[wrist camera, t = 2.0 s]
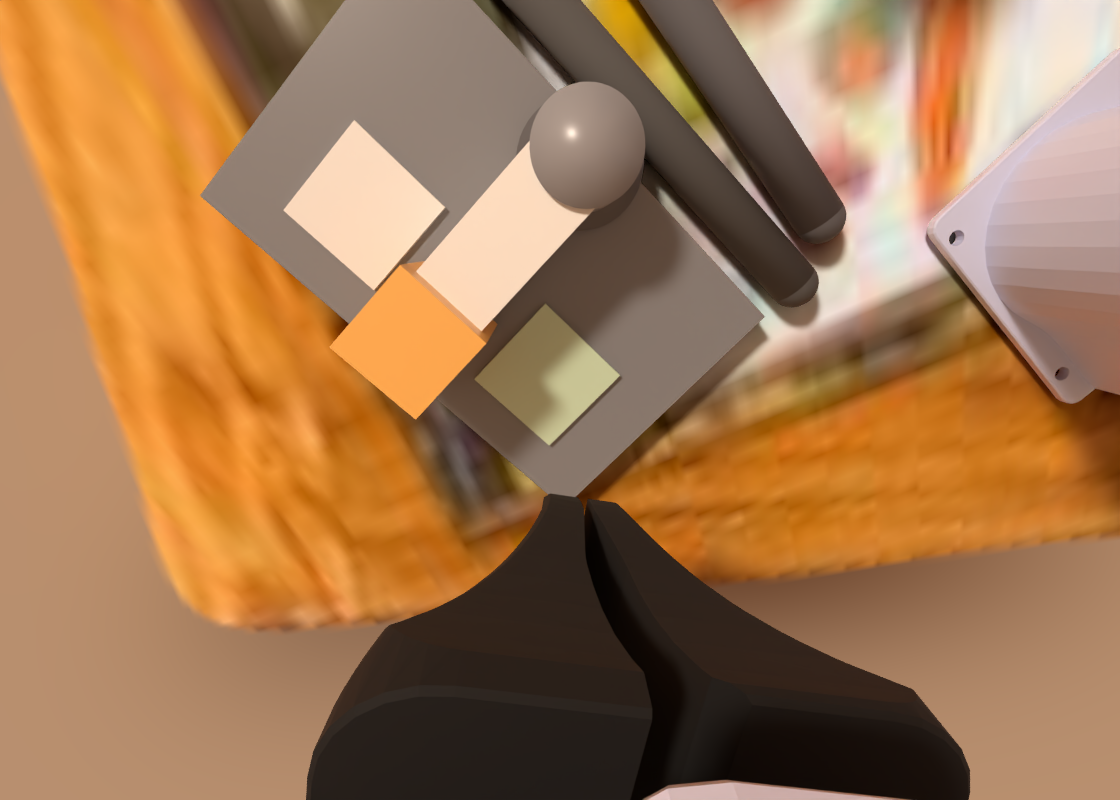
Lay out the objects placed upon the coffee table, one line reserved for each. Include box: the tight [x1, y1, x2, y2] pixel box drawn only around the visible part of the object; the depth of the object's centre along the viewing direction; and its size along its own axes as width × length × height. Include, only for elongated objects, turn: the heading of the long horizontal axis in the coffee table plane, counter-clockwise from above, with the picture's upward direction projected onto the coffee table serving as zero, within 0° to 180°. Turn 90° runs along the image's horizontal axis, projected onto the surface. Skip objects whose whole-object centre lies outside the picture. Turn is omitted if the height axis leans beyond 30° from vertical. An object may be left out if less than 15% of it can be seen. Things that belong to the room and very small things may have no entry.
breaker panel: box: [200, 0, 765, 497], centre depth 18 cm, size 16×11×2 cm
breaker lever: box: [330, 82, 645, 419], centre depth 16 cm, size 3×10×4 cm, turn 136°
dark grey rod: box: [502, 0, 819, 307], centre depth 17 cm, size 16×2×2 cm, turn 46°
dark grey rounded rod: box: [639, 0, 846, 244], centre depth 17 cm, size 12×2×2 cm, turn 40°
